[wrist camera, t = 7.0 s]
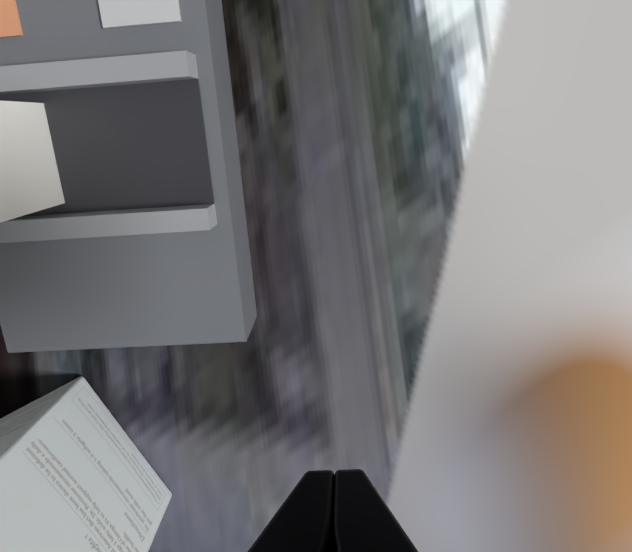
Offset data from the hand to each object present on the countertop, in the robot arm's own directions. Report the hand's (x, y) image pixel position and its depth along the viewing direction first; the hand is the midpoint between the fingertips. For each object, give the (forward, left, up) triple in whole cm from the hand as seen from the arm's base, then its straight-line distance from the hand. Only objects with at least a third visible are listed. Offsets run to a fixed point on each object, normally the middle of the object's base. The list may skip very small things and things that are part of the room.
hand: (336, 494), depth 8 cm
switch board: (+5, +8, -13) cm, 16 cm away
